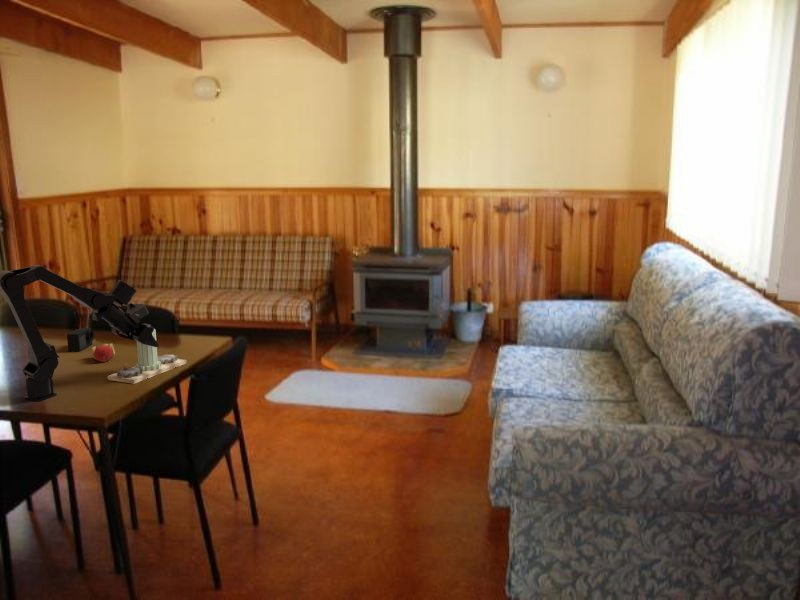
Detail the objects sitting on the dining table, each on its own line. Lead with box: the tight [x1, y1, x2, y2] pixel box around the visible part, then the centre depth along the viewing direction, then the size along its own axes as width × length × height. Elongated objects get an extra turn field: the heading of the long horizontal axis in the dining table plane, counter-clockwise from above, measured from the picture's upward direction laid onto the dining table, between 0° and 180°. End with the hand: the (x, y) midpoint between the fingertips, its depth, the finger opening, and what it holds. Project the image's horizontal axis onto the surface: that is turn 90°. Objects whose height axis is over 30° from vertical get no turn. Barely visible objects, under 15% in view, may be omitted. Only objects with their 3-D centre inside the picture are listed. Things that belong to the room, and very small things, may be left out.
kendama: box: [91, 343, 116, 363], centre depth 244 cm, size 8×6×18 cm
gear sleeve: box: [134, 328, 161, 371], centre depth 226 cm, size 8×8×13 cm
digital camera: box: [66, 327, 95, 353], centre depth 256 cm, size 10×5×7 cm, turn 179°
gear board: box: [107, 353, 188, 385], centre depth 227 cm, size 25×11×5 cm, turn 157°
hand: (150, 343), depth 227 cm, fingers open, 9 cm apart
